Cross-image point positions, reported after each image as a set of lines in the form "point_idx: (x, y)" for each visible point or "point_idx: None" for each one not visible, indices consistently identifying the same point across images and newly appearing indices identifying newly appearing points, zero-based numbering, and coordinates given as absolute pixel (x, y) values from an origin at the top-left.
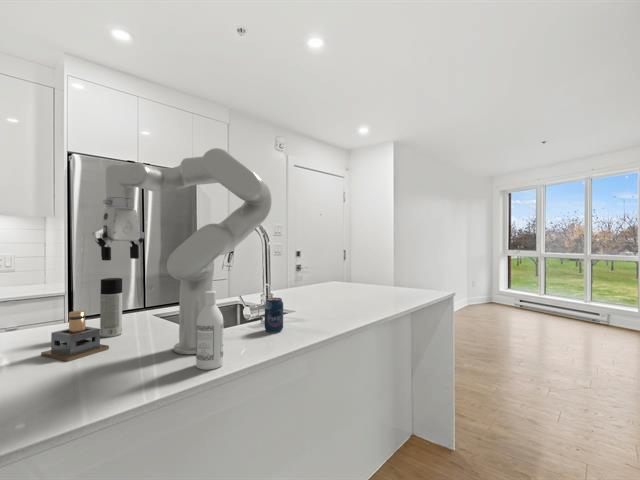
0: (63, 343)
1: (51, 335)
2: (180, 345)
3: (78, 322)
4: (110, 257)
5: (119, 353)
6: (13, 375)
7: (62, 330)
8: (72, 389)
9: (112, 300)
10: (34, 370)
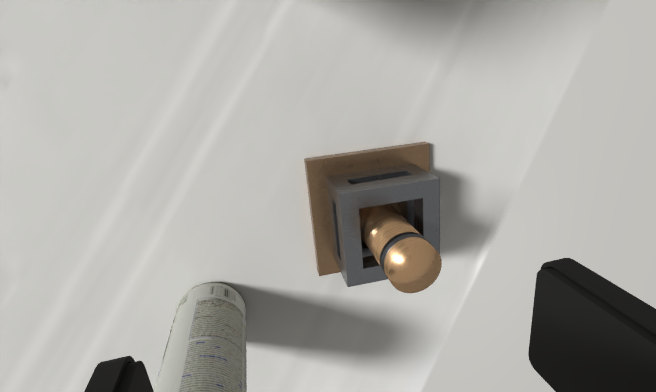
0: None
1: None
2: None
3: (409, 227)
4: (575, 273)
5: (312, 83)
6: (525, 148)
7: None
8: None
9: (215, 376)
10: (491, 144)
